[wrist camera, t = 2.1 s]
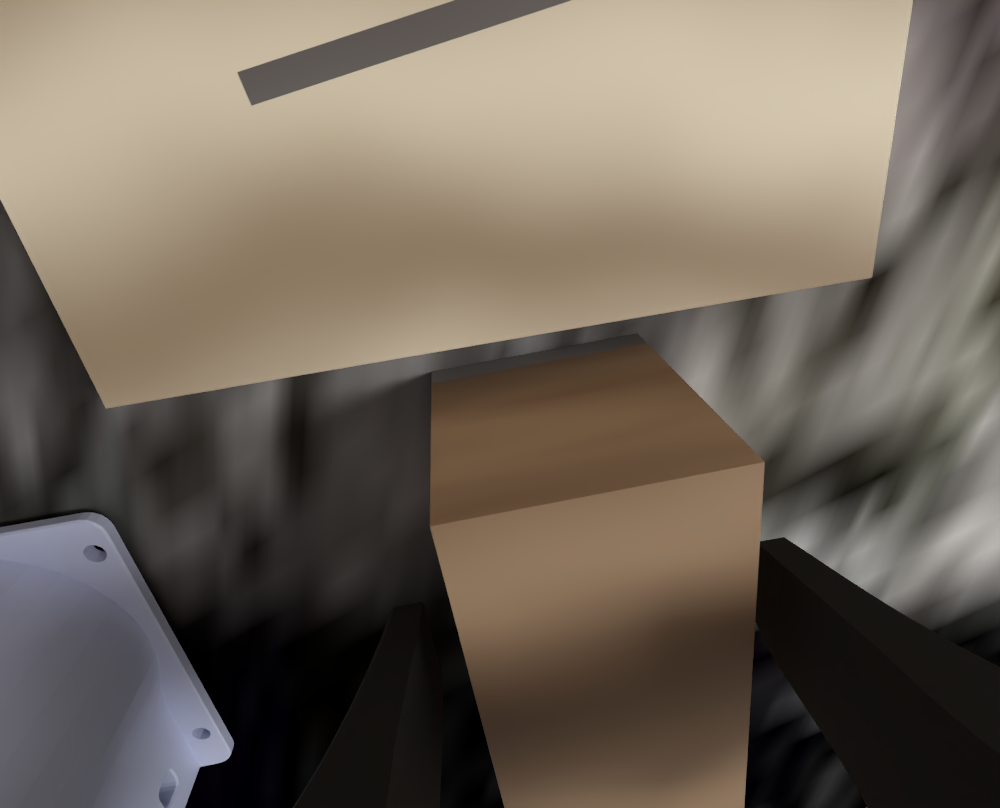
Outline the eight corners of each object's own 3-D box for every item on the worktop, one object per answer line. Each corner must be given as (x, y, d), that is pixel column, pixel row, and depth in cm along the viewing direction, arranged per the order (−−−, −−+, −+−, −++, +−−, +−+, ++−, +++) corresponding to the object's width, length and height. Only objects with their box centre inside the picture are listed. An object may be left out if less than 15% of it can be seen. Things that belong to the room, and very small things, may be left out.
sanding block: (650, 603, 18) (744, 809, 12) (492, 634, 18) (517, 856, 12) (636, 331, 14) (764, 462, 8) (431, 370, 14) (430, 526, 8)
